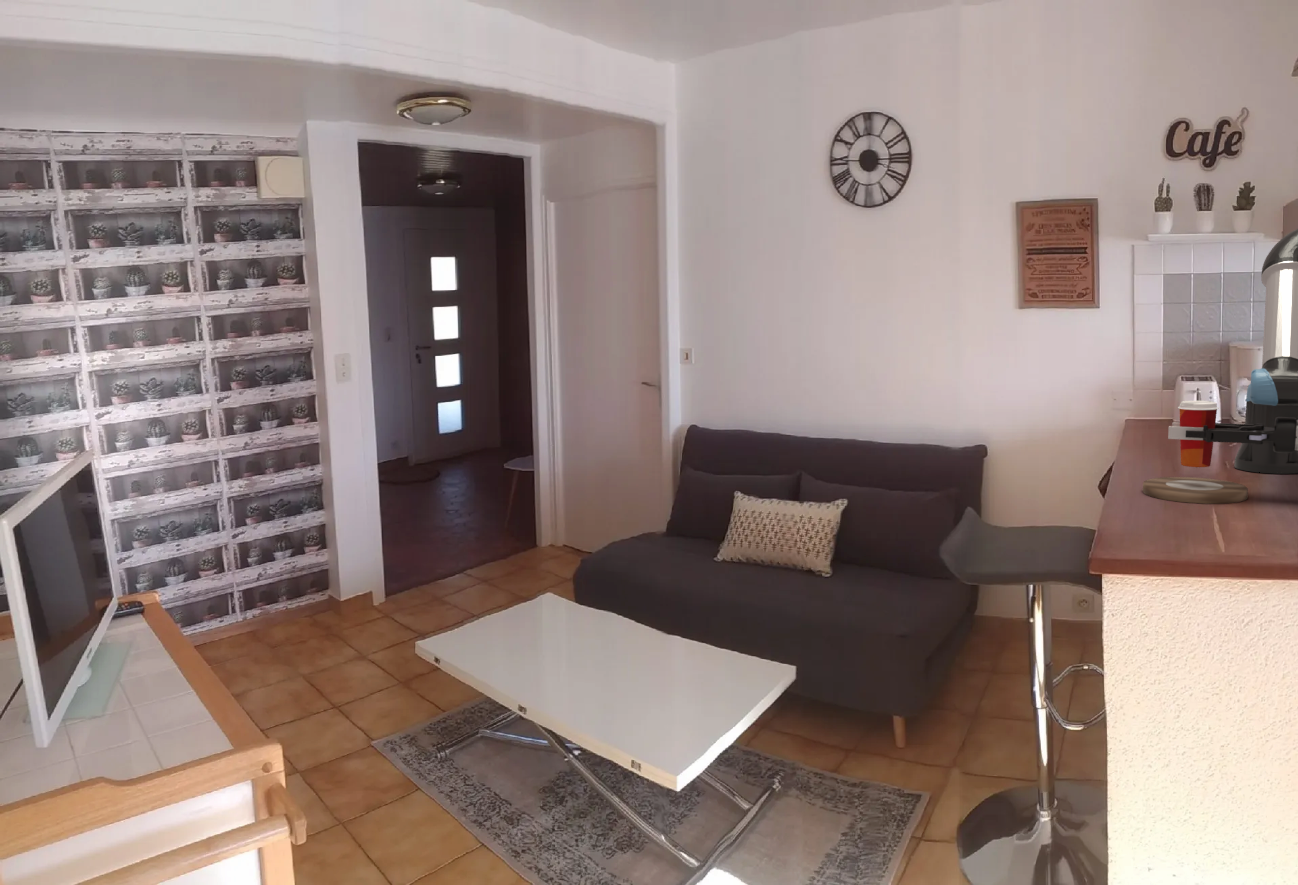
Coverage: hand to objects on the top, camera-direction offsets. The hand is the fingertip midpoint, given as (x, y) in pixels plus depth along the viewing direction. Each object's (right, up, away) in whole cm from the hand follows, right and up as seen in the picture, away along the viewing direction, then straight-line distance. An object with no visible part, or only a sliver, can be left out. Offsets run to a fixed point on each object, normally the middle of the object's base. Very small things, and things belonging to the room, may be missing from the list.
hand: (1170, 430), depth 204 cm
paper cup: (+4, -8, -2) cm, 9 cm away
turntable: (+5, -14, -1) cm, 15 cm away
